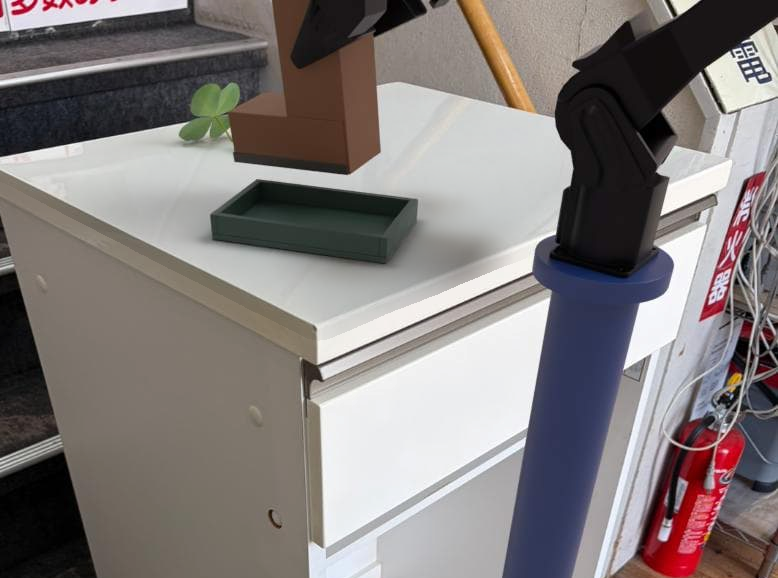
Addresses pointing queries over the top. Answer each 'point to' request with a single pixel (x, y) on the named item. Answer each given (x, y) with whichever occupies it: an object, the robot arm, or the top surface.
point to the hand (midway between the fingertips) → (313, 57)
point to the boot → (312, 107)
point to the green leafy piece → (211, 111)
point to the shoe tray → (316, 220)
